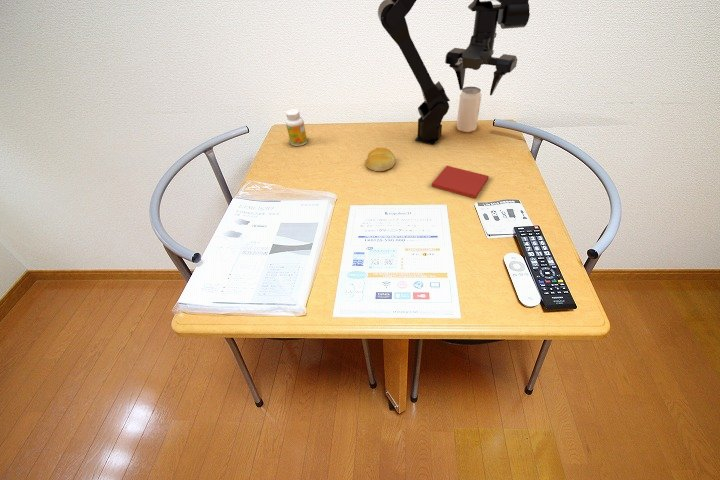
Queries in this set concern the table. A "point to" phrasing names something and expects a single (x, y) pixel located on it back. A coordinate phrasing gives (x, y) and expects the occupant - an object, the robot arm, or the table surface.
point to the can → (468, 109)
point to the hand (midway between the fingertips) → (475, 92)
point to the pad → (460, 181)
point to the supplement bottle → (295, 128)
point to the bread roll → (380, 159)
